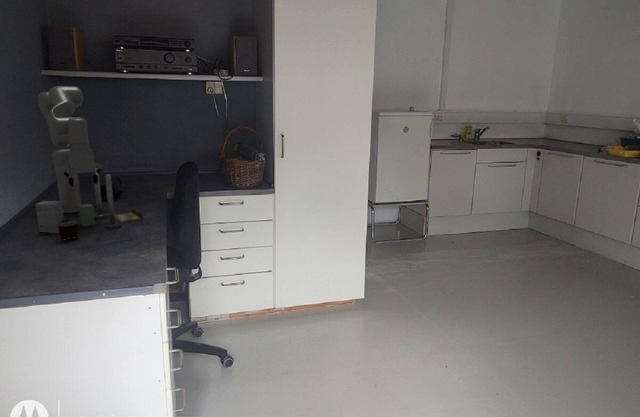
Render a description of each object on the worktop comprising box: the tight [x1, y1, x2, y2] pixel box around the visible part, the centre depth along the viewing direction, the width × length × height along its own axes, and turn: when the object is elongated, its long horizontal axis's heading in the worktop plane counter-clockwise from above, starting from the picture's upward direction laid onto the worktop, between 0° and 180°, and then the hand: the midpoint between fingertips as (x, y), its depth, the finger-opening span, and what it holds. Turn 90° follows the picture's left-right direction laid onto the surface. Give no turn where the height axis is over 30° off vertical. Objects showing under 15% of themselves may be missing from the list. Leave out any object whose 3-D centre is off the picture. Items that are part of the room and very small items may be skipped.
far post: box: [92, 167, 109, 220], centre depth 230 cm, size 7×7×24 cm
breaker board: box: [115, 207, 144, 224], centre depth 231 cm, size 10×12×4 cm
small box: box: [35, 200, 65, 234], centre depth 208 cm, size 8×6×13 cm
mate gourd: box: [51, 204, 79, 240], centre depth 198 cm, size 8×8×15 cm
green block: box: [78, 203, 96, 227], centre depth 220 cm, size 5×5×9 cm
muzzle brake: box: [100, 174, 123, 201], centre depth 276 cm, size 10×28×10 cm, turn 15°
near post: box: [103, 173, 122, 229], centre depth 215 cm, size 7×7×24 cm
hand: (84, 185), depth 216 cm, fingers open, 9 cm apart
